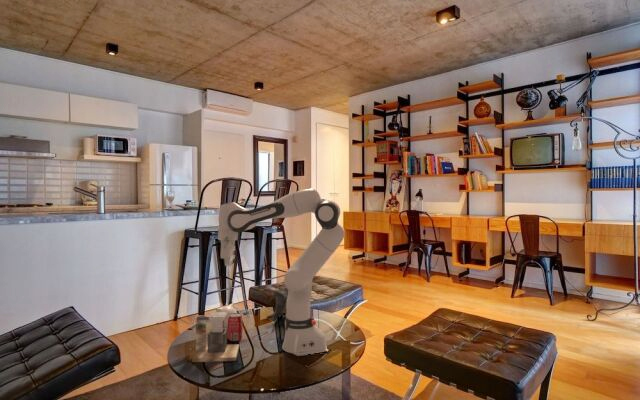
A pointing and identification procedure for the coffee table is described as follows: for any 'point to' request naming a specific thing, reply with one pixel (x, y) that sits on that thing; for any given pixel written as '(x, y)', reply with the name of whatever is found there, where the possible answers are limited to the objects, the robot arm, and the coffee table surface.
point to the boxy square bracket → (216, 321)
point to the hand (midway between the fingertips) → (227, 265)
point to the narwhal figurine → (279, 302)
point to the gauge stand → (213, 345)
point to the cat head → (229, 310)
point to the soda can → (235, 327)
